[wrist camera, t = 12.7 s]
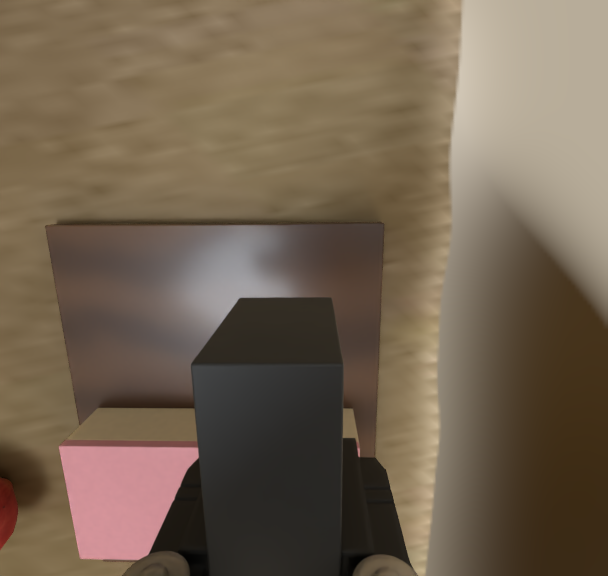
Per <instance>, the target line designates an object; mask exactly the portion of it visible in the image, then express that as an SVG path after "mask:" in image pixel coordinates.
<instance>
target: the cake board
mask: <svg viewBox="0 0 608 576" xmlns="http://www.w3.org/2000/svg"><path fill="white" fill-rule="evenodd" d="M45 228H46V234H47V240H48V245H49V251H50V257H51V263H52V269H53V274H54V280H55V286H56V292H57V297H58V303H59V309H60V315H61V321H62V326H63V332H64V338H65V344H66V350H67V355H68V361H69V367H70V373H71V379H72V384H73V390H74V396H75V402H76V408H77V413H78V419H79V425H81V424H82V423H83V422H84V421H85V420H86V419H87V418H88V417H89V416H90V415H91V414H92V413H93V412H94V411H95V410H96V409H97V408H194V398H193V387H192V375H191V363H192V362H193V360H194V359H195V358H196V356H197V355H198V354H199V352H200V351H201V350H202V348H203V347H204V346H205V344H206V343H207V342H208V340H209V339H210V337H211V336H212V335H213V333H214V332H215V331H216V329H217V328H218V327H219V325H220V324H221V323H222V321H223V320H224V319H225V317H226V316H227V314H228V313H229V312H230V310H231V309H232V308H233V306H234V305H235V304H236V302H237V301H238V300H239V298H274V297H331V298H332V301H333V306H334V312H335V318H336V323H337V329H338V335H339V340H340V346H341V352H342V357H343V363H344V396H343V408H346V409H353V412H354V418H355V424H356V429H357V435H358V440H359V446H360V457H375V436H376V413H377V389H378V365H379V341H380V317H381V294H382V270H383V246H384V223H382V222H300V223H158V224H54V225H46V226H45ZM103 561H111V562H137V561H138V560H115V559H103Z"/></svg>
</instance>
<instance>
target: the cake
mask: <svg viewBox="0 0 608 576" xmlns="http://www.w3.org/2000/svg"><path fill="white" fill-rule="evenodd" d="M59 450H60V456H61V461H62V466H63V471H64V477H65V482H66V487H67V492H68V498H69V503H70V508H71V513H72V519H73V524H74V529H75V534H76V540H77V545H78V550H79V555H80V559H115V560H140V559H141V558H143V557H145V556H147V555H148V554H149V552H150V550H151V548H152V546H153V543H154V541H155V539H156V537H157V535H158V533H159V530H160V528H161V526H162V524H163V522H164V519H165V517H166V515H167V513H168V511H169V508H170V506H171V504H172V502H173V501H174V499H175V495H176V493H177V491H178V489H179V487H180V486H181V482H182V480H183V478H184V476H185V473H186V471H187V469H188V468H189V467H190V466H191V465H192V464H193V463H194V462H195V461H196V460H197V459H198V458H199V454H198V443H197V431H196V420H195V409H194V408H97V409H96V410H95V411H94V412H93V413H92V414H91V415H90V416H89V417H88V418H87V419H86V420H85V421H84V422H83V423H82V424H81V425H80V426H79V427H78V428H77V429H76V430H75V431H74V432H73V433H72V434H71V435H70V436H69V437H68V438H67V439H66V440H65V441H64V442H62V443H61V444H60V445H59Z"/></svg>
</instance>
